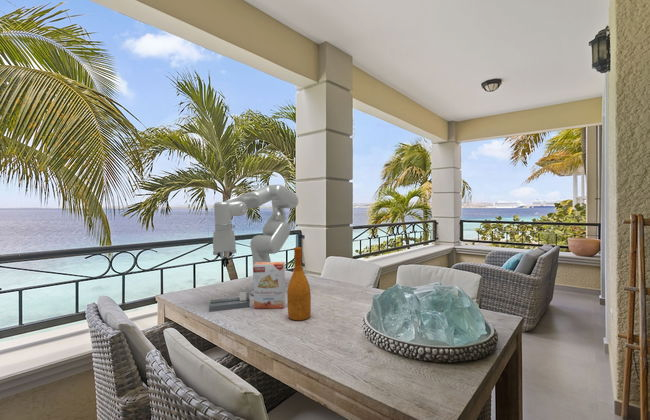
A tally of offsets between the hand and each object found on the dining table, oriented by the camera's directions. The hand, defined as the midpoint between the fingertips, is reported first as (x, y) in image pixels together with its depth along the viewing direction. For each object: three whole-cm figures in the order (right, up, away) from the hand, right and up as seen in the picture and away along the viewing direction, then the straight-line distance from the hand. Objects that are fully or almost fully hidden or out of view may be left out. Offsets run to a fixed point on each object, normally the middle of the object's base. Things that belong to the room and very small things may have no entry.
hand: (225, 266), depth 149 cm
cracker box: (+22, -19, -2) cm, 29 cm away
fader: (+8, -17, +2) cm, 19 cm away
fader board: (+2, -19, +1) cm, 19 cm away
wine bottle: (+37, -19, -16) cm, 44 cm away
